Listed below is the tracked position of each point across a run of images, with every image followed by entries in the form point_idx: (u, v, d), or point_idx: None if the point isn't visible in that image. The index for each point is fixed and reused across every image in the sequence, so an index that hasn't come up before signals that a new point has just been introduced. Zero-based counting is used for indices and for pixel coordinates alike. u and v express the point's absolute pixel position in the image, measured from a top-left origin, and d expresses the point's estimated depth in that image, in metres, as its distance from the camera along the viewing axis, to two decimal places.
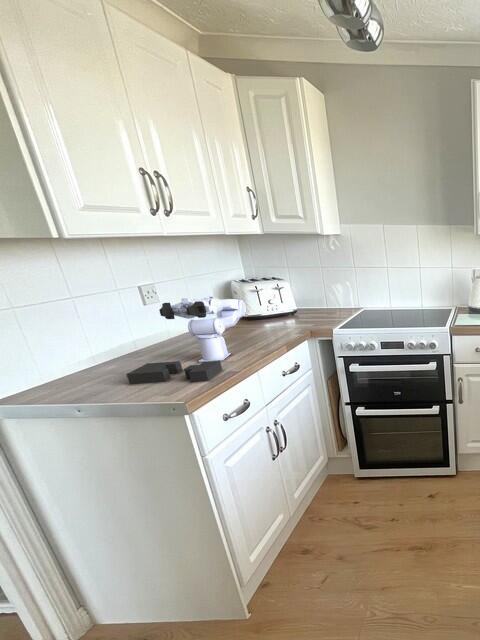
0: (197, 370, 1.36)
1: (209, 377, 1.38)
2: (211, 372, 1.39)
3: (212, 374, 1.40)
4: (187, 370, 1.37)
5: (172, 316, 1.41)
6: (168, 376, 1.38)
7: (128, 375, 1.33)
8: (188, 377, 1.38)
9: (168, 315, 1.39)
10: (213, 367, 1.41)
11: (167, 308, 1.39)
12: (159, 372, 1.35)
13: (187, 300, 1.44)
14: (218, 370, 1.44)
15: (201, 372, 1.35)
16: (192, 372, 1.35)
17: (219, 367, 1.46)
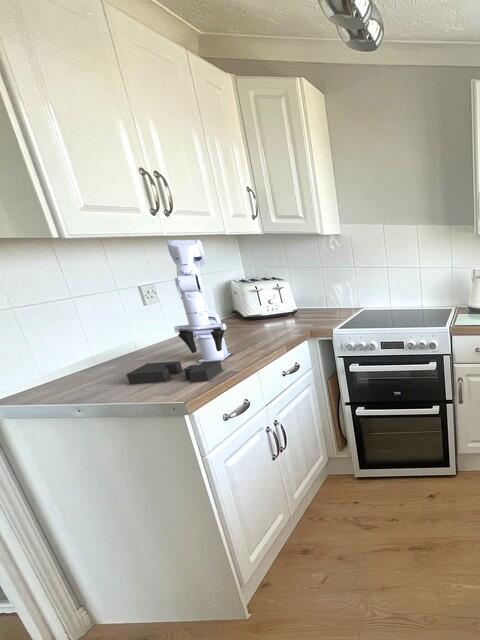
0: (197, 370, 1.36)
1: (209, 377, 1.38)
2: (211, 372, 1.39)
3: (212, 374, 1.40)
4: (187, 370, 1.37)
5: (192, 334, 1.42)
6: (168, 376, 1.38)
7: (128, 375, 1.33)
8: (188, 377, 1.38)
9: (193, 341, 1.42)
10: (213, 367, 1.41)
11: (190, 341, 1.40)
12: (159, 372, 1.35)
13: (198, 328, 1.37)
14: (218, 370, 1.44)
15: (201, 372, 1.35)
16: (192, 372, 1.35)
17: (219, 367, 1.46)
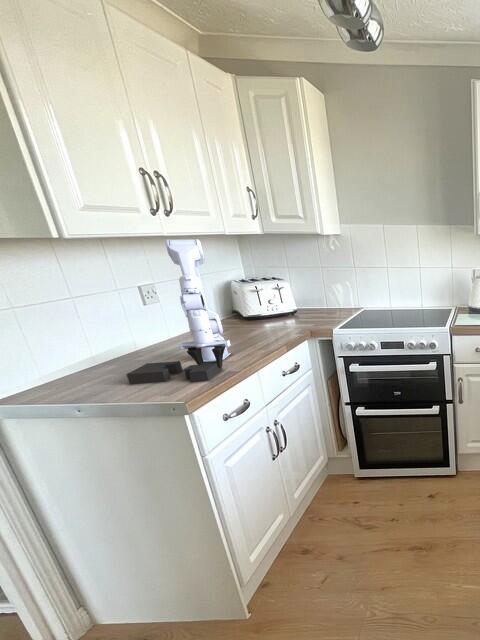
0: (197, 370, 1.36)
1: (209, 377, 1.38)
2: (211, 372, 1.39)
3: (212, 374, 1.40)
4: (187, 370, 1.37)
5: (200, 350, 1.44)
6: (168, 376, 1.38)
7: (128, 375, 1.33)
8: (188, 377, 1.38)
9: (201, 357, 1.44)
10: (213, 367, 1.41)
11: (198, 357, 1.42)
12: (159, 372, 1.35)
13: (203, 346, 1.39)
14: (218, 370, 1.44)
15: (201, 372, 1.35)
16: (192, 372, 1.35)
17: None
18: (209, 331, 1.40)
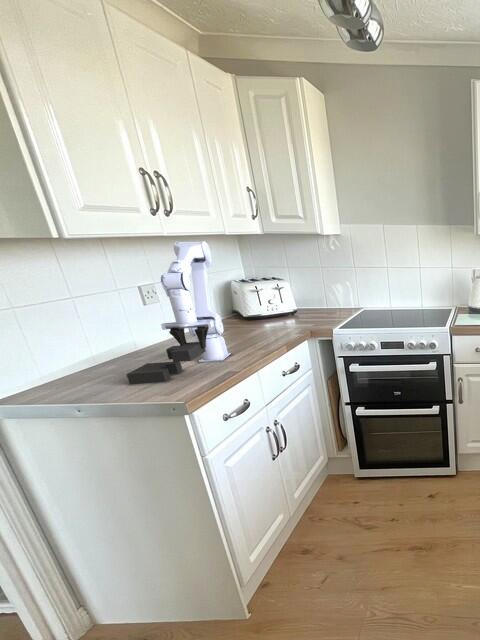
0: (179, 350, 1.35)
1: (191, 357, 1.36)
2: (193, 352, 1.38)
3: (195, 354, 1.39)
4: (169, 350, 1.36)
5: (183, 331, 1.43)
6: (168, 376, 1.38)
7: (128, 375, 1.33)
8: (170, 357, 1.37)
9: (184, 338, 1.43)
10: (196, 348, 1.40)
11: (181, 338, 1.41)
12: (159, 372, 1.35)
13: (185, 326, 1.38)
14: (201, 351, 1.43)
15: (183, 352, 1.34)
16: (174, 352, 1.33)
17: None
18: (192, 311, 1.39)
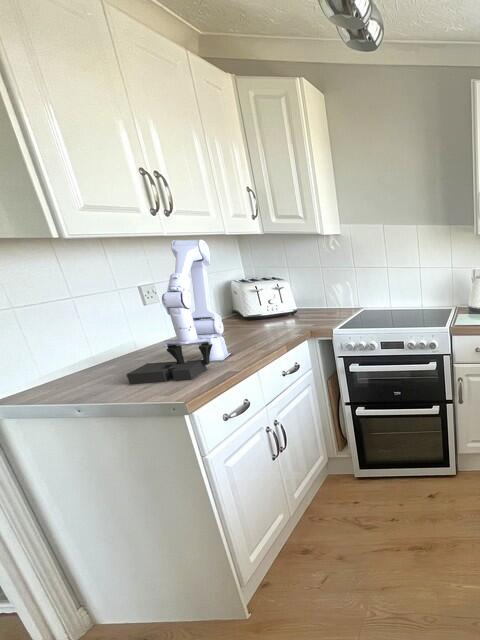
0: (180, 369, 1.37)
1: (192, 376, 1.39)
2: (194, 371, 1.40)
3: (196, 372, 1.41)
4: (171, 369, 1.39)
5: (180, 348, 1.45)
6: (168, 376, 1.38)
7: (128, 375, 1.33)
8: (172, 376, 1.39)
9: None
10: (197, 366, 1.42)
11: (178, 355, 1.43)
12: (159, 372, 1.35)
13: (186, 343, 1.40)
14: (202, 369, 1.46)
15: (184, 371, 1.37)
16: (175, 371, 1.36)
17: (203, 366, 1.47)
18: (192, 329, 1.41)
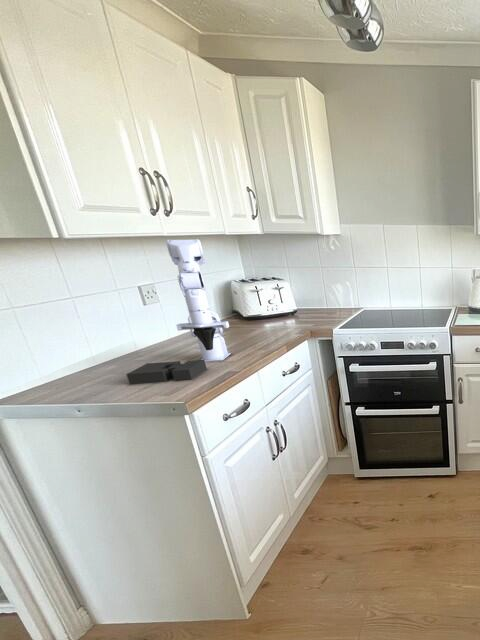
0: (180, 369, 1.37)
1: (192, 376, 1.39)
2: (194, 371, 1.40)
3: (196, 372, 1.41)
4: (171, 369, 1.39)
5: None
6: (168, 376, 1.38)
7: (128, 375, 1.33)
8: (172, 376, 1.39)
9: None
10: (197, 366, 1.42)
11: (204, 338, 1.39)
12: (159, 372, 1.35)
13: (201, 326, 1.36)
14: (202, 369, 1.46)
15: (184, 371, 1.37)
16: (175, 371, 1.36)
17: (203, 366, 1.47)
18: (207, 312, 1.37)
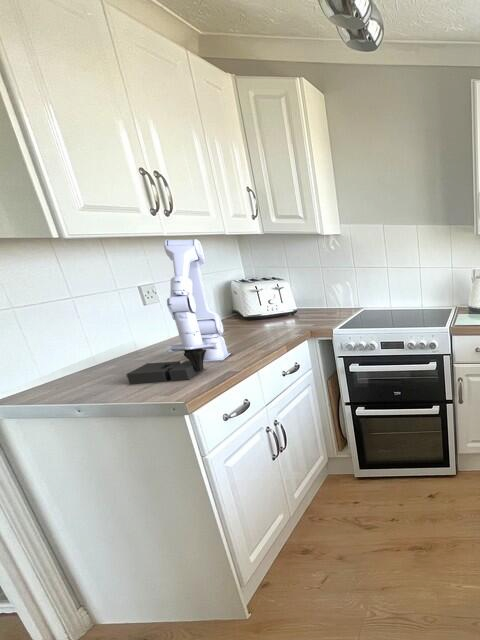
0: (177, 369, 1.37)
1: (189, 376, 1.39)
2: (191, 371, 1.40)
3: (193, 373, 1.41)
4: (168, 369, 1.38)
5: None
6: (168, 376, 1.38)
7: (128, 375, 1.33)
8: None
9: None
10: None
11: None
12: (159, 372, 1.35)
13: (191, 348, 1.37)
14: None
15: (181, 371, 1.36)
16: (172, 371, 1.36)
17: None
18: (197, 334, 1.38)
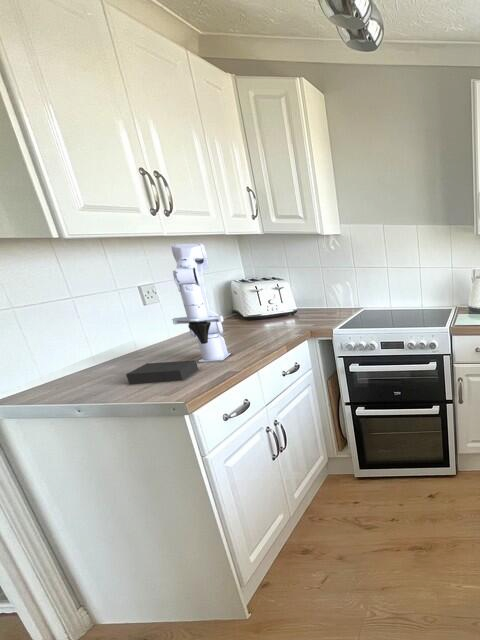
0: (171, 370, 1.36)
1: (183, 377, 1.38)
2: (185, 372, 1.40)
3: (187, 373, 1.41)
4: None
5: None
6: None
7: (128, 375, 1.33)
8: None
9: None
10: (188, 367, 1.42)
11: (199, 332, 1.44)
12: (159, 372, 1.35)
13: (196, 320, 1.40)
14: (193, 370, 1.45)
15: (175, 372, 1.36)
16: (166, 372, 1.35)
17: (195, 367, 1.46)
18: (202, 306, 1.41)
